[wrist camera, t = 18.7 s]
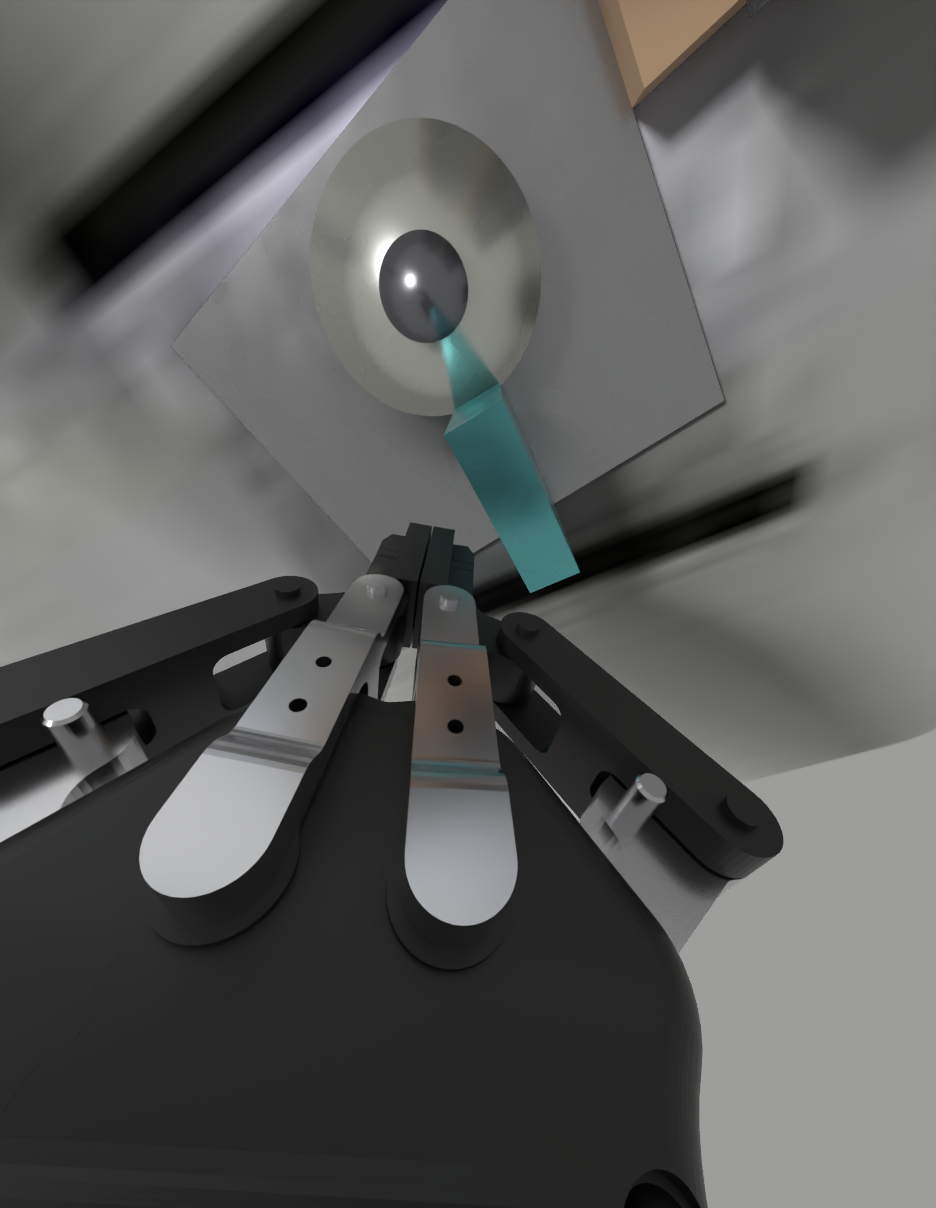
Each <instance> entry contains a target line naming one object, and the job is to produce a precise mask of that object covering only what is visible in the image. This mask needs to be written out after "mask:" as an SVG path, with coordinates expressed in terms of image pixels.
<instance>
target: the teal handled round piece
mask: <svg viewBox="0 0 936 1208" xmlns="http://www.w3.org/2000/svg"><path fill="white" fill-rule="evenodd" d="M310 272H311V282H312V290H313V295H314V299H315V304H316V308H317V312H318V315H319V318H320V321H321V324H322V327H323V329H324V331H325V334H326V336H327V338H328V341H329V343H330V345H331V346H332V348H333V350H334V352H335V354H336V355H337V357H338V358H339V360H340V361H341V363H342V364H343V366H344V367H345V369H346V370H347V371H348V372H349V373H350V375H351V376H352V377H353V378H354V379H355V380H356V381H357V382H358V383H359V384H360V385H361V386H362V387H363V388H364V389H365V390H366V391H367V392H369V393H370V394H371V395H373V396H374V397H376V398H377V399H378V400H380V401H382V402H383V403H385V404H387V405H389V406H391V407H393V408H395V409H398V410H401V411H403V412H406V413H411V414H415V415H421V416H444V415H449V414H453V415H452V417H451V420H450V422H449V424H448V427H447V429H446V431H445V434H444V436H445V438H446V440H447V442H448V444H449V445H450V447H451V449H452V451H453V453H454V455H455V456H456V458H457V460H458V462H459V464H460V466H461V467H462V469H463V471H464V473H465V475H466V477H467V478H468V480H469V482H470V484H471V486H472V487H473V489H474V491H475V493H476V495H477V497H478V498H479V500H480V502H481V504H482V506H483V508H484V509H485V511H486V513H487V515H488V517H489V519H490V520H491V522H492V524H493V526H494V528H495V530H496V531H497V533H498V535H499V537H500V539H501V541H502V542H503V544H504V546H505V548H506V550H507V551H508V553H509V555H510V557H511V559H512V561H513V562H514V564H515V566H516V568H517V570H518V572H519V573H520V575H521V577H522V579H523V581H524V583H525V584H526V586H527V588H528V590H529V592H530V593H531V592H534V591H536V590H539V589H541V588H543V587H546V586H548V585H551V584H553V583H555V582H558V581H560V580H563V579H565V578H567V577H570V576H572V575H575V574H577V573H579V572H580V571H579V568H578V565H577V563H576V560H575V557H574V555H573V552H572V549H571V547H570V544H569V542H568V539H567V536H566V534H565V531H564V528H563V526H562V523H561V520H560V518H559V515H558V512H557V510H556V508H555V505H554V503H553V501H552V499H551V496H550V494H549V492H548V490H547V487H546V485H545V483H544V481H543V478H542V476H541V474H540V472H539V469H538V467H537V465H536V463H535V460H534V458H533V456H532V454H531V451H530V449H529V447H528V445H527V442H526V440H525V438H524V436H523V433H522V431H521V429H520V427H519V424H518V422H517V420H516V418H515V415H514V413H513V411H512V409H511V406H510V404H509V402H508V400H507V397H506V395H505V393H504V391H503V388H502V386H501V385H502V384H503V383H504V382H505V381H506V379H507V378H508V377H509V376H510V375H511V373H512V372H513V370H514V369H515V367H516V366H517V364H518V363H519V361H520V359H521V357H522V355H523V353H524V351H525V350H526V348H527V345H528V343H529V340H530V337H531V335H532V332H533V329H534V325H535V321H536V317H537V314H538V308H539V301H540V294H541V257H540V249H539V243H538V237H537V232H536V229H535V225H534V221H533V218H532V214H531V212H530V209H529V207H528V204H527V202H526V199H525V197H524V194H523V192H522V191H521V189H520V187H519V185H518V183H517V181H516V180H515V178H514V176H513V175H512V173H511V172H510V171H509V169H508V168H507V166H506V165H505V164H504V162H503V161H502V160H501V159H500V158H499V157H498V155H497V154H496V153H495V152H494V151H493V150H492V149H491V148H490V147H489V146H488V145H487V144H485V143H484V142H483V141H481V140H480V139H479V138H477V137H476V136H475V135H473V134H472V133H470V132H468V131H466V130H464V129H463V128H461V127H459V126H457V125H455V124H451V123H448V122H445V121H442V120H439V119H431V118H422V117H418V118H407V119H400V120H397V121H394V122H390V123H387V124H384V125H382V126H380V127H378V128H377V129H375V130H373V131H371V132H369V133H368V134H366V135H365V136H364V137H363V138H361V139H360V140H359V141H357V142H356V143H355V144H354V145H353V146H352V147H351V148H350V149H349V150H348V151H347V153H346V154H345V155H344V156H343V157H342V158H341V160H340V161H339V163H338V164H337V166H336V167H335V169H334V170H333V172H332V173H331V175H330V177H329V179H328V181H327V183H326V185H325V187H324V189H323V191H322V194H321V197H320V200H319V203H318V206H317V209H316V213H315V218H314V223H313V228H312V235H311V245H310Z"/></svg>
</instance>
